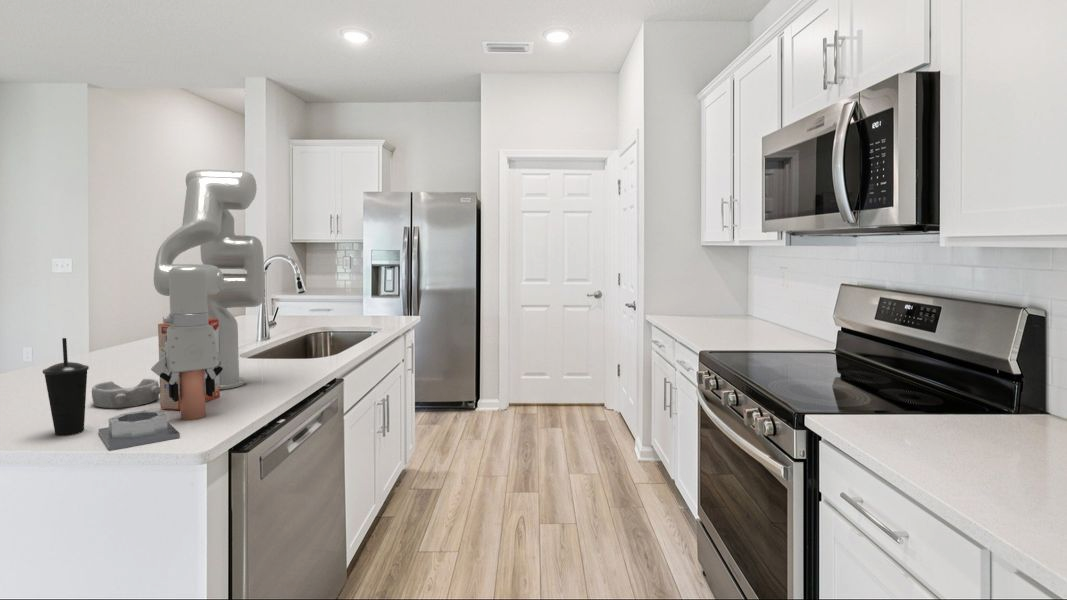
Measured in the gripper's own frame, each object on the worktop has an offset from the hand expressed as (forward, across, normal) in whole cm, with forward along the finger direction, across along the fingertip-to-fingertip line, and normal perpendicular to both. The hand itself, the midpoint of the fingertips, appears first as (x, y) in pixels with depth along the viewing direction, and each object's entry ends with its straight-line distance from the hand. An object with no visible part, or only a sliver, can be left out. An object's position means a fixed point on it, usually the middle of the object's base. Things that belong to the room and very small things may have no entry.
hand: (192, 397), depth 139 cm
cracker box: (+5, +3, +14) cm, 15 cm away
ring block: (+5, -12, -8) cm, 15 cm away
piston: (+5, 0, 0) cm, 5 cm away
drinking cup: (+5, -22, +4) cm, 23 cm away
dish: (+5, -9, +25) cm, 27 cm away
